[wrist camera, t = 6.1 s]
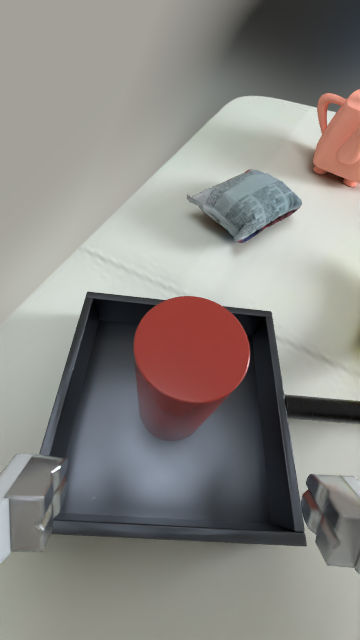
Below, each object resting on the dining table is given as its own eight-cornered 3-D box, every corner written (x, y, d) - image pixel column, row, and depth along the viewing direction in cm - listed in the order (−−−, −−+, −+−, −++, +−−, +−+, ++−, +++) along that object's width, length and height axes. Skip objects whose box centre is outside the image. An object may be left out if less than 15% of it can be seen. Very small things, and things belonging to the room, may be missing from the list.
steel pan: (39, 523, 16) (14, 532, 13) (94, 314, 24) (86, 290, 21) (409, 542, 18) (464, 554, 15) (347, 340, 26) (374, 321, 23)
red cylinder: (134, 438, 19) (124, 397, 10) (143, 372, 22) (141, 289, 12) (203, 443, 20) (256, 408, 10) (203, 377, 22) (246, 301, 13)
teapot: (288, 144, 46) (322, 65, 37) (350, 147, 47) (396, 73, 39) (321, 197, 38) (372, 114, 30) (393, 198, 40) (460, 121, 32)
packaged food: (184, 215, 33) (190, 176, 29) (248, 185, 38) (261, 149, 33) (233, 259, 30) (248, 223, 26) (296, 221, 35) (317, 186, 31)
